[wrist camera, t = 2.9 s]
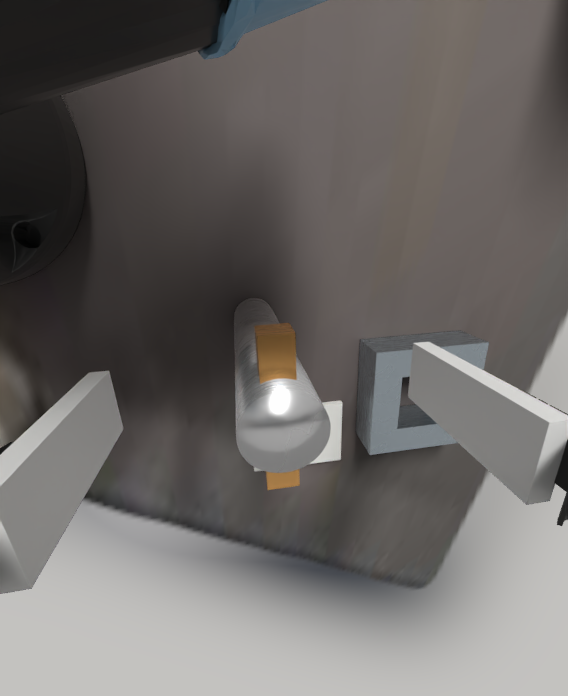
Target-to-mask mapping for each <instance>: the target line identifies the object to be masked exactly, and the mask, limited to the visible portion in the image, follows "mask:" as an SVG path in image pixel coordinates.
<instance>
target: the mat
mask: <svg viewBox="0 0 568 696" xmlns="http://www.w3.org/2000/svg"><path fill="white" fill-rule="evenodd" d="M322 404H323V406H324V408H325V410H326V411H327V413H328V416H329V419H330V425H331V430H330V437H329V440H328V443H327V445H326V447H325V448H324V450H323V451H322V453H321V454H320V455H319V456H318V457H317V458H316V459H315V460H314V461H312V462H311V463H310V464H313V463H320V462H327V461H335V460H341V431H342V402H341V401H332V402H323V403H322ZM255 471H263V470H260V469H258V468H256V467H254V472H255Z"/></svg>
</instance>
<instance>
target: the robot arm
mask: <svg viewBox="0 0 568 696" xmlns="http://www.w3.org/2000/svg"><path fill="white" fill-rule="evenodd" d="M324 1H327V0H0V285H2V284H6V283H10V282H14V281H17V280H20V279H23V278H26V277H28V276H30V275H32V274H34V273H36V272H38V271H40V270H41V269H43V268H44V267H46V266H47V265H48V264H50V263H51V262H52V261H53V260H54V259H55V258H56V257H58V256H59V254H60V253H61V252H62V251H63V250H64V249H65V247H66V246H67V244H68V243H69V241H70V240H71V238H72V236H73V235H74V233H75V230H76V228H77V226H78V223H79V221H80V217H81V214H82V210H83V205H84V198H85V168H84V160H83V155H82V149H81V146H80V142H79V138H78V135H77V132H76V129H75V126H74V124H73V121H72V119H71V116H70V114H69V112H68V110H67V108H66V105H65V104H64V102H63V100H62V98H61V96H60V95H63V94H66V93H69V92H72V91H75V90H78V89H81V88H84V87H87V86H91V85H94V84H97V83H100V82H103V81H106V80H109V79H112V78H115V77H118V76H121V75H125V74H128V73H131V72H134V71H137V70H140V69H143V68H146V67H149V66H152V65H155V64H158V63H162V62H165V61H168V60H171V59H174V58H177V57H180V56H183V55H186V54H189V53H192V52H196V51H198V52H199V54H200V55H201V56H202V57H203V59H212V58H218V57H221V56H223V55H225V54H227V53H228V52H229V51H231V50H232V49H234V48H235V46H236V45H237V43H238V42H239V40H240V38H241V37H242V35H243V34H245V33H248V32H250V31H252V30H255V29H257V28H260V27H262V26H265V25H267V24H270V23H272V22H275V21H277V20H280V19H282V18H285V17H287V16H290V15H292V14H295V13H297V12H300V11H302V10H305V9H307V8H310V7H312V6H314V5H317V4H319V3H322V2H324ZM408 397H409V398H410V399H411V400H412V401H413V402H414V403H415V404H416V405H417V406H419V407H420V408H421V409H422V410H423V411H424V412H425V413H426V414H427V415H428V416H429V417H431V418H432V419H433V420H434V421H435V422H436V423H437V424H438V425H439V426H440V427H442V428H443V429H444V430H445V431H446V432H447V433H448V434H449V435H450V436H451V437H453V438H454V439H455V440H456V441H457V442H458V443H459V444H460V445H461V446H462V447H463V448H465V449H466V450H467V451H468V452H469V453H470V454H471V455H472V456H473V457H474V458H476V459H477V460H478V461H479V462H480V463H481V464H482V465H483V466H484V467H485V468H487V469H488V470H489V471H490V472H491V473H492V474H493V475H494V476H495V477H497V478H498V479H499V480H500V481H501V482H502V483H503V484H504V485H505V486H506V487H507V488H509V489H510V490H511V491H512V492H513V493H514V494H515V495H516V496H517V497H518V498H519V499H521V500H522V501H523V502H524V503H525V504H526V505H528V504H534V503H540V502H546V501H550V498H551V495H552V492H553V489H554V485H555V483H556V484H557V485H558V486H560V487H561V488H562V489H563V490H565V491H566V492H567V493H566V496H565V499H564V502H563V505H562V508H561V511H560V514H559V517H558V521H557V525H560V526H562V525H563V522H564V521H565V520H567V519H568V414H566V413H565V412H562V411H561V410H559V409H557V408H555V407H553V406H551V405H548V404H547V403H546V402H544V401H542V400H540V399H536V397H534V396H532V395H530V394H529V393H527V392H525V391H523V390H520V389H517V388H515V387H513V386H512V385H510V384H508V383H506V382H504V381H502V380H500V379H498V378H497V377H495V376H493V375H491V374H489V373H487V372H485V371H483V370H481V369H480V368H478V367H476V366H474V365H472V364H470V363H468V362H466V361H465V360H463V359H461V358H459V357H457V356H455V355H453V354H451V353H449V352H448V351H446V350H444V349H442V348H440V347H438V346H436V345H434V344H432V343H431V342H419V343H413V351H412V361H411V371H410V380H409V390H408ZM122 431H123V425H122V421H121V417H120V413H119V409H118V405H117V401H116V397H115V392H114V388H113V384H112V380H111V376H110V372H109V371H100V372H89V373H88V374H87V375H86V376H85V377H84V378H82V379H81V380H80V381H79V382H78V383H77V384H76V385H75V386H74V387H73V388H72V389H71V390H70V391H68V392H67V393H66V394H65V395H64V396H63V397H62V398H61V399H60V400H59V401H58V402H57V403H56V404H54V405H53V406H52V407H51V408H50V409H49V410H48V411H47V412H46V413H45V414H44V415H43V416H42V417H40V418H39V419H38V420H37V421H36V422H35V423H34V424H33V425H32V426H31V427H30V428H29V429H28V430H26V431H25V432H24V433H23V434H22V435H21V436H20V437H19V438H18V439H17V440H16V441H15V442H10V443H8V444H7V445H5V446H3V447H2V448H0V594H2V593H8V592H14V591H20V590H26V589H32V587H33V585H34V583H35V582H36V580H37V578H38V576H39V575H40V573H41V571H42V569H43V568H44V566H45V564H46V562H47V561H48V559H49V557H50V556H51V554H52V552H53V550H54V549H55V547H56V545H57V544H58V542H59V540H60V538H61V537H62V535H63V533H64V531H65V530H66V528H67V526H68V524H69V523H70V521H71V519H72V518H73V516H74V514H75V512H76V511H77V509H78V507H79V505H80V504H81V502H82V500H83V498H84V497H85V495H86V493H87V492H88V490H89V488H90V486H91V485H92V483H93V481H94V479H95V478H96V476H97V474H98V472H99V471H100V469H101V467H102V466H103V464H104V462H105V460H106V459H107V457H108V455H109V453H110V452H111V450H112V448H113V446H114V445H115V443H116V441H117V440H118V438H119V436H120V434H121V433H122Z"/></svg>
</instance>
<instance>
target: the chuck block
mask: <svg viewBox="0 0 568 696" xmlns="http://www.w3.org/2000/svg"><path fill="white" fill-rule="evenodd" d="M419 342H431V343H432V344H434V345H436V346H438V347H440V348H442V349H444V350H446V351H448V352H449V353H451V354H453V355H455V356H457V357H459V358H461V359H463V360H465V361H466V362H468V363H470V364H472V365H474V366H476V367H478V368H480V369H481V370H484V364H485V359H486V354H487V349H488V344H489V342H487V341H484V340H482V339H480V338H477V337H475V336H472V335H470V334H468V333H465V332H463V331H449V332H438V333H427V334H415V335H404V336H393V337H381V338H370V339H360V351H359V372H358V393H357V415H356V434H357V435H358V437H359V438H360V440H361V442H362V443H363V445H364V446H365V448H366V450H367V451H368V453H369V455H374V454H381V453H388V452H395V451H402V450H410V449H417V448H424V447H431V446H439V445H446V444H453V443H458V442H457V441H456V440H455V439H454V438H453V437H451V436H450V435H449V434H448V433H447V432H446V431H445V430H444V429H443V428H442V427H440V426H439V425H438V424H437V423H436V422H435V421H434V420H433V419H432V418H431V417H429V416H428V415H427V414H426V413H425V412H424V411H423V410H422V409H421V408H420V407H419V406H417V405H416V404H415V405H407V406H400V396H401V387H402V377H410V371H411V361H412V351H413V343H419Z"/></svg>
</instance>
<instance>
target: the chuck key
mask: <svg viewBox="0 0 568 696" xmlns="http://www.w3.org/2000/svg"><path fill="white" fill-rule="evenodd" d="M234 340H235V400H236V442H237V446H238V449H239V451H240V453H241V455H242V456H243V457H244V459H245V460H246V461H247V462H248V463H249V464H251V465H252V466H254V467H256V468H258V469H260V470H263V471H265V474H266V481H267V488H268V490H272V489H279V488H286V487H292V486H299V485H300V484H299V469H300V468H303V467H305V466H306V465H308V464H310V463H311V462H312V461H314V460H315V459H316V458H317V457H318V456H319V455H320V454H321V453H322V451H323V450H324V448H325V447H326V445H327V443H328V440H329V437H330V430H331V425H330V419H329V416H328V413H327V411H326V410H325V408H324V406H323V404H322V402H321V400H320V398H319V396H318V395H317V393H316V391H315V389H314V387H313V385H312V383H311V381H310V380H309V378H308V376H307V374H306V372H305V370H304V368H303V366H302V364H301V363H300V361H299V359H298V357H297V355H296V337H295V332H294V330H293V328H292V327H291V325H290V324H289V323H281V324H280V323H279V321H278V319H277V317H276V316H275V314H274V312H273V310H272V308H271V306H270V305H269V304H268V303H267V302H266V301H264V300H262V299H259V298H249V299H246V300H244V301H242V302H241V303H240V304H239V305H238V306H237V308H236V310H235V313H234Z"/></svg>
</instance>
